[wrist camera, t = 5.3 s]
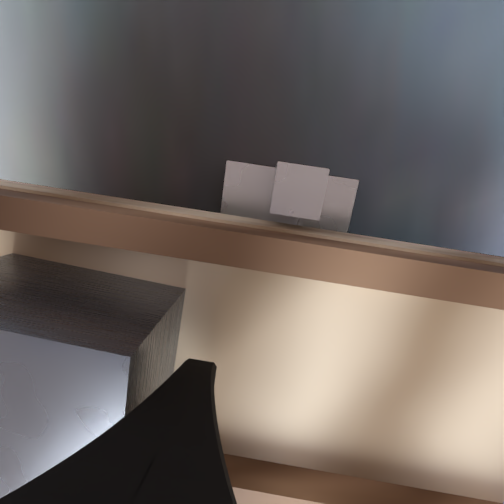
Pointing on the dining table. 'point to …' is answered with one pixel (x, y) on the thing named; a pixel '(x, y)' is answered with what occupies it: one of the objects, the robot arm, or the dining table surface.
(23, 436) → the rider
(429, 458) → the beam
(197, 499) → the robot arm
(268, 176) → the pivot stand
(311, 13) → the dining table surface
